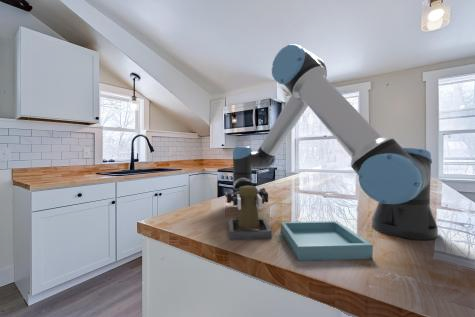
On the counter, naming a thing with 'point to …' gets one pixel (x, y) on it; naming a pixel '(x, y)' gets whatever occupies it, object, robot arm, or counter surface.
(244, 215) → the olive tall rounded piece
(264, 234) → the grey square holder
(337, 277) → the counter surface
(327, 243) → the tray
